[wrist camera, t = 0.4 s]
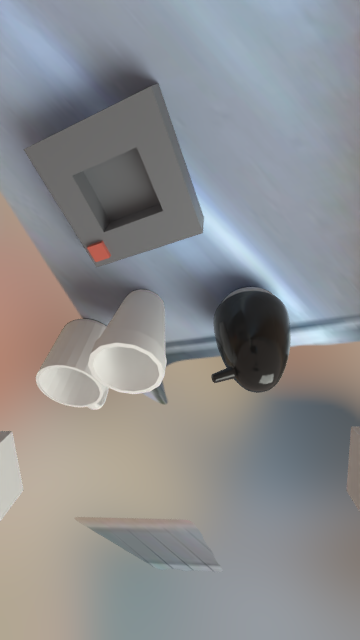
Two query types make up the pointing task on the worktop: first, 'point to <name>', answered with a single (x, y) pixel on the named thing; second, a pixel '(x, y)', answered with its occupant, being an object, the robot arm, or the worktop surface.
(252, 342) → the pump dispenser
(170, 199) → the socket
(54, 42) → the worktop surface
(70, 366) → the mug
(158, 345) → the foam cup
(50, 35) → the worktop surface
